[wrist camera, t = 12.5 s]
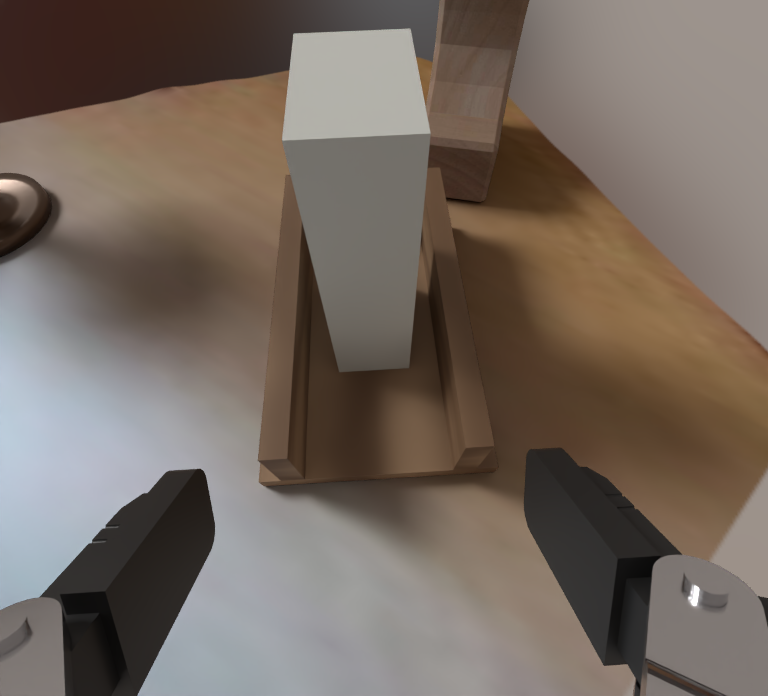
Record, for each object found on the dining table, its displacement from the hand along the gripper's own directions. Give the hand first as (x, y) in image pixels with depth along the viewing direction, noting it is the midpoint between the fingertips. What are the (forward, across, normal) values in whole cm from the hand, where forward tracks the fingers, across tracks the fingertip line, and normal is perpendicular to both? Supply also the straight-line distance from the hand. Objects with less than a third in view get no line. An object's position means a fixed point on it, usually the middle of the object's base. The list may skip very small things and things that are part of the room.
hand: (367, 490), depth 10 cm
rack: (+16, 0, 0) cm, 16 cm away
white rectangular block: (+15, 0, -1) cm, 15 cm away
